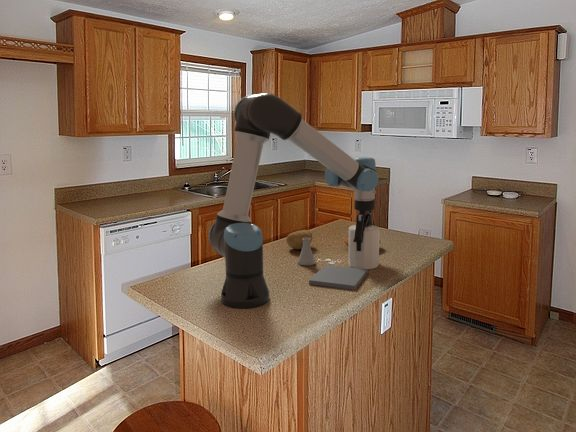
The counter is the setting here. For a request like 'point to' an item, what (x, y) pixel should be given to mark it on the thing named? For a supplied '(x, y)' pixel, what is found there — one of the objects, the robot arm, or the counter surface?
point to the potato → (298, 238)
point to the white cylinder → (364, 248)
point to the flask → (306, 254)
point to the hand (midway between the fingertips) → (363, 254)
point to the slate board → (339, 277)
